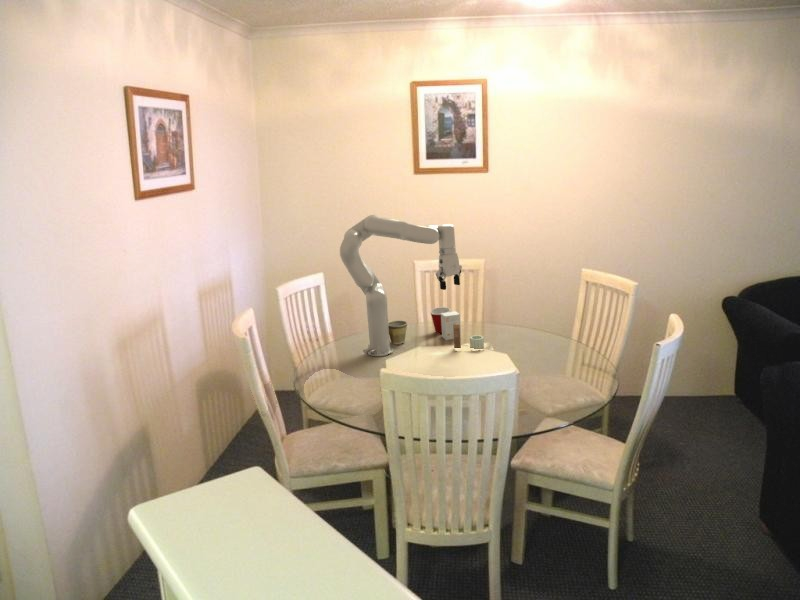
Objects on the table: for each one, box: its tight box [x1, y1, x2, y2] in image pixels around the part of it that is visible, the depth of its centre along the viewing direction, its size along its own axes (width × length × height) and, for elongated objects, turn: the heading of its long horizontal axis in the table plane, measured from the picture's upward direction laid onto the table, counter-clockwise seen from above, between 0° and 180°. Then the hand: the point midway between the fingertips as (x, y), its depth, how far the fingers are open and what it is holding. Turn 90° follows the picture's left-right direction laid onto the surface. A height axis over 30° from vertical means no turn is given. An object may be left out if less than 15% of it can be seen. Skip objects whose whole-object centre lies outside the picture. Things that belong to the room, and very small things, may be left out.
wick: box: [453, 323, 461, 349], centre depth 302 cm, size 3×3×12 cm
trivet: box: [452, 341, 494, 351], centre depth 305 cm, size 18×12×1 cm, turn 89°
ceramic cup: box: [388, 320, 408, 345], centre depth 321 cm, size 13×10×10 cm
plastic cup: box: [429, 306, 451, 334], centre depth 332 cm, size 11×11×12 cm
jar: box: [469, 334, 485, 349], centre depth 303 cm, size 7×7×5 cm
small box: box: [441, 310, 462, 341], centre depth 320 cm, size 8×6×13 cm
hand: (450, 287), depth 303 cm, fingers open, 9 cm apart
